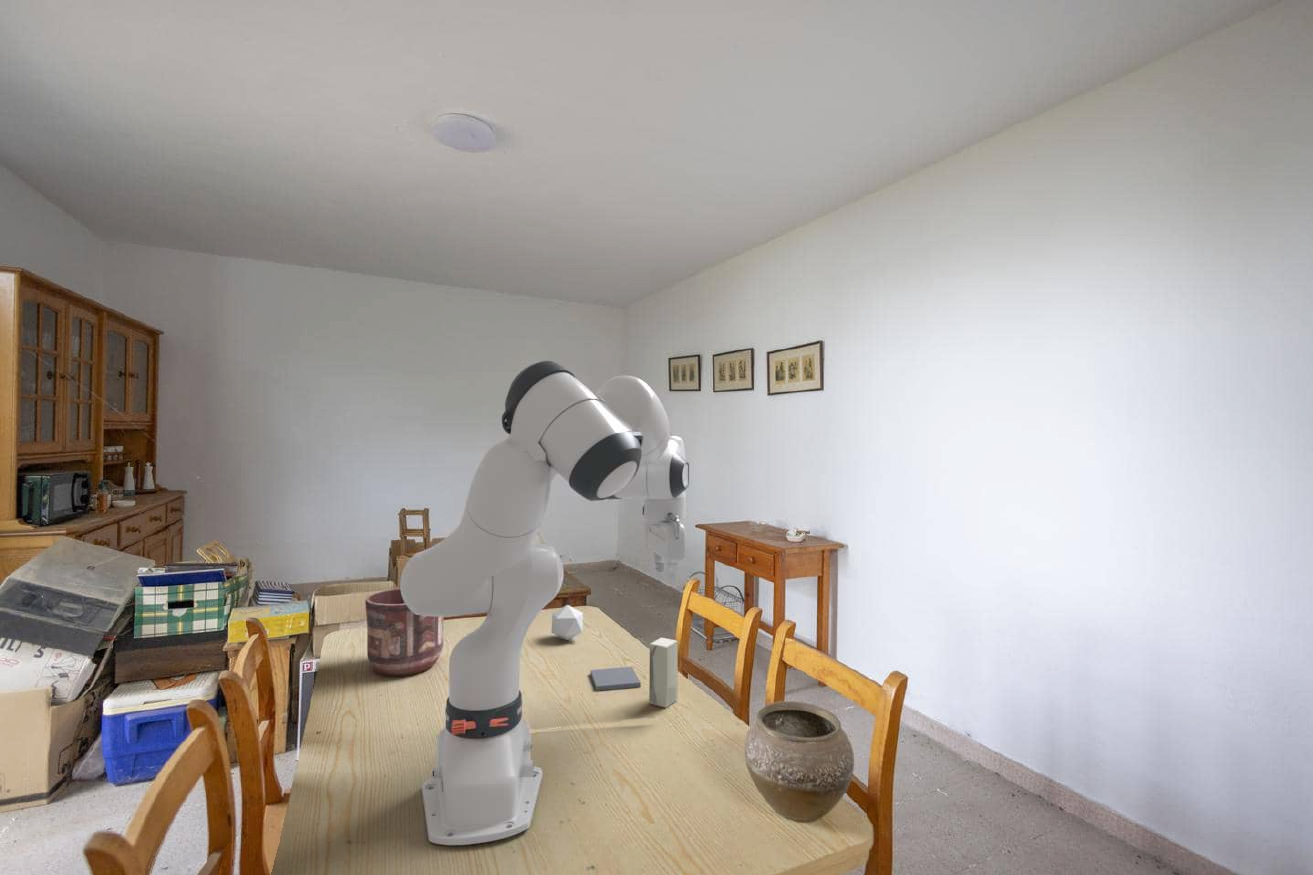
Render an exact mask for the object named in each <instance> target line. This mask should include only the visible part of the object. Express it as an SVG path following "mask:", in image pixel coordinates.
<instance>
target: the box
mask: <svg viewBox="0 0 1313 875" xmlns="http://www.w3.org/2000/svg"><path fill="white" fill-rule="evenodd" d="M678 644H679V641H678V640H676V639H672V638H671V639H670V638H665V637H660V638H658V639H656V640H654V641H652V642H651V643H649V675H648V676H649V682H648V683H649V690H648V691H649V692H648V693H649V695H648V696H649V697H648V699H649V700H648V701H649V704H650V705H655V706H658V707H661V708H665V709H667V708H668V707H669V706H671V705H672V704H673V703H674V702H676V701H677V700H678V696H679V695H678V685H679V684H678V678H679V676H678V675H679V674H678V668H679V667H678V666H679V662H678V661H679V658H678V655H679V654H678V653H679V646H678Z"/></svg>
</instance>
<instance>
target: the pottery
mask: <svg viewBox="0 0 1313 875" xmlns="http://www.w3.org/2000/svg"><path fill="white" fill-rule="evenodd" d="M365 613H366V629H367V633H366V634H367V637H366V638H367V640H366V641H367V642H366V644H367V647H366V652H367V653H366V654H367V658H368V661H369V663H370V666H371V668H372V669H373V671H374V672H375V673H377V674H379V675H380V676H381V675H382V676H383V677H392V678H395V677H396V678H397V677H399V678H401V677H411V676H414V675H415V676H416V675H419V674H421V673H424V672H426V671H428V670H431V668H432V667H433V666H434V665H435V664H436V663H437V661H438V660H439V658H440V657H441V655H442V652H443V650H444V620H445V619H444V618H445V617H435V616H423V615H415V614H414V613H413V612H412V611H411V610H410V609H409V608H408V607H407V606H406V604H405V602H404V600H403V598H402V595H401V590H400V587H399V588H392V589H391V588H390V589H387V590H383V591H378V592H375V593H373V594H371V595H369V596H367V597H366V599H365Z"/></svg>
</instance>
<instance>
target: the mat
mask: <svg viewBox="0 0 1313 875" xmlns="http://www.w3.org/2000/svg"><path fill="white" fill-rule="evenodd" d="M590 676H591V679H592V683H593V685H594V688H595V690H596V692H599V691H600V692H601V691H610V690H611V691H612V690H622V689H623V690H624V689H634V688H641V681H640V680H641V679H639V677H638V675H637V673H636V672H635V670H634V668H633V667H632V666H624V667H613V668H610V667H609V668H599V669H590Z"/></svg>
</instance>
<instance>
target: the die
mask: <svg viewBox="0 0 1313 875" xmlns="http://www.w3.org/2000/svg"><path fill="white" fill-rule="evenodd" d="M551 615H552V617H551V634H553V635H555V636H557V637H559V638H561V639H563V640H565V641H569V640H571V639H573V638H575V637H577V636H579V635H580V634H582V633H583V630H584V629H583V625H584V624H583V622H584V612H582V611H580V610H578V609H576V608H574V607H572V606H570V605H569V604H566V605H565V606H563V607H561V608H559V609H558V610H556V611H554V612H552V614H551Z"/></svg>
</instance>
